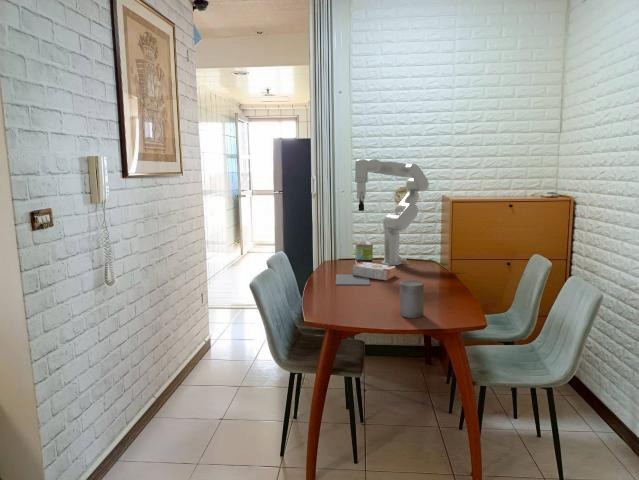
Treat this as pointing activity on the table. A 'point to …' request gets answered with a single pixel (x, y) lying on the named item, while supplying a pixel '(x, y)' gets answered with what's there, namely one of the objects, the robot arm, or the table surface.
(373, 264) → the cracker box
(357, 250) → the tea box
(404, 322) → the table surface
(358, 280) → the mat
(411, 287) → the pillar candle
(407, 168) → the robot arm
